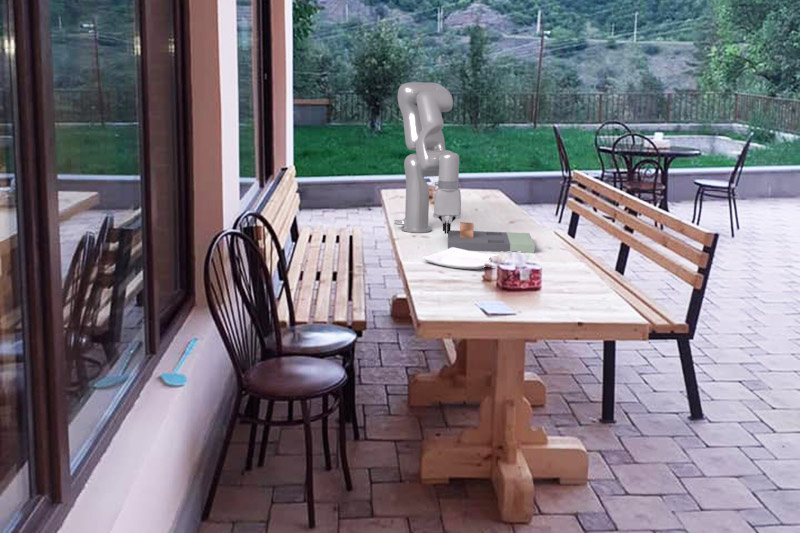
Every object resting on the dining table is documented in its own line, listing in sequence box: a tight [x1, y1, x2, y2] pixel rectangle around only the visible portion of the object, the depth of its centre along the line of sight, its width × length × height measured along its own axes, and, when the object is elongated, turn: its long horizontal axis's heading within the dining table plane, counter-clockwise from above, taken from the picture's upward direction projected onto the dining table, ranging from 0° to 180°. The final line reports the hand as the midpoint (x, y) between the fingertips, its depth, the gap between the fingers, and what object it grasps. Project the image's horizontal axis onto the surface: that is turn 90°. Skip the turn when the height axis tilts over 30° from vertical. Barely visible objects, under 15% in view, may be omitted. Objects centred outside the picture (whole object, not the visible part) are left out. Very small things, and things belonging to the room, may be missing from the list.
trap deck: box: [447, 230, 536, 254], centre depth 347 cm, size 32×24×3 cm
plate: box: [421, 247, 500, 270], centre depth 316 cm, size 24×24×3 cm
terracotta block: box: [459, 221, 474, 238], centre depth 347 cm, size 5×5×5 cm
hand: (446, 232), depth 348 cm, fingers closed
